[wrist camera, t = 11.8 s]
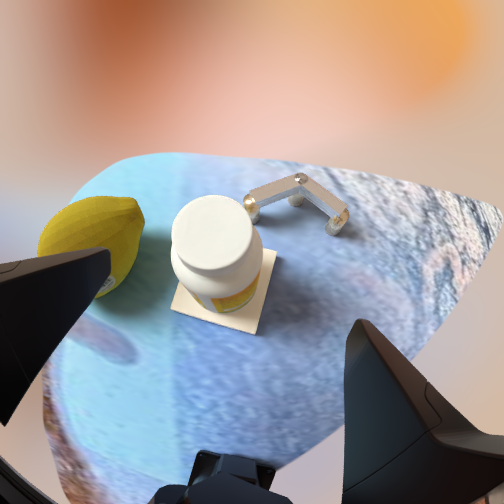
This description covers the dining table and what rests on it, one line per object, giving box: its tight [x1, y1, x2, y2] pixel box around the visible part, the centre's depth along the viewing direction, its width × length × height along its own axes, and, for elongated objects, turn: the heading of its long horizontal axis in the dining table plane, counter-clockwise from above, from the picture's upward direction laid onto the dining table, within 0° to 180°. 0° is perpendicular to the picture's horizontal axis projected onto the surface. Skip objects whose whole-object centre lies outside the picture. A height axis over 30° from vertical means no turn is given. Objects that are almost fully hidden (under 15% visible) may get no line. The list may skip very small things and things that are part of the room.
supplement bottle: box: [171, 195, 263, 314], centre depth 18 cm, size 5×5×10 cm
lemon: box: [37, 196, 145, 299], centre depth 20 cm, size 11×8×8 cm
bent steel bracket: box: [244, 173, 349, 236], centre depth 24 cm, size 4×9×4 cm, turn 75°
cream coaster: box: [170, 248, 277, 335], centre depth 23 cm, size 7×7×1 cm
